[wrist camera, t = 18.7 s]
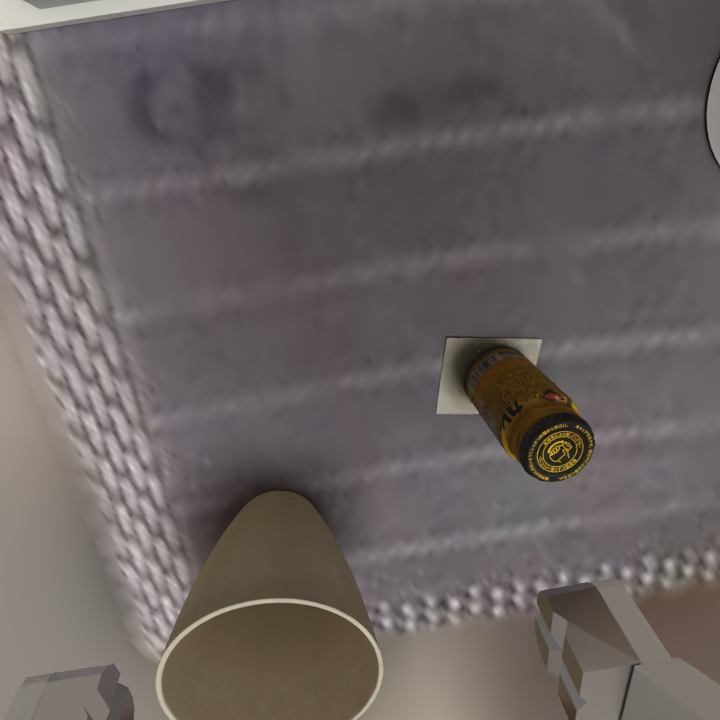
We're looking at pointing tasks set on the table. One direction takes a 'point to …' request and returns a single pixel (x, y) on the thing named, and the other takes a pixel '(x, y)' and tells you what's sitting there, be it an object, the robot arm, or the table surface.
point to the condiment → (516, 404)
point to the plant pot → (272, 625)
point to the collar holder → (77, 11)
